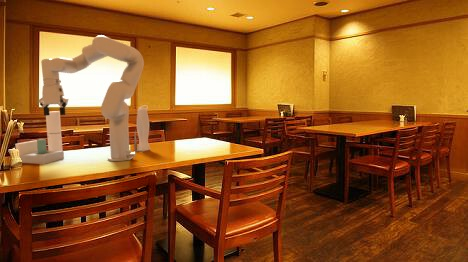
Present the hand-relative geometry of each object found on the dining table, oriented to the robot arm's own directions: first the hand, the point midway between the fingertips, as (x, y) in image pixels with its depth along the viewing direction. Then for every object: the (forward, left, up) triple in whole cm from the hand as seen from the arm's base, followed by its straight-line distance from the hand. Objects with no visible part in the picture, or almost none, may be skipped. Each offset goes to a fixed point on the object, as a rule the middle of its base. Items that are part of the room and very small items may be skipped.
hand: (54, 115), depth 170 cm
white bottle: (-33, -33, -24) cm, 52 cm away
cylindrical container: (+12, -12, -24) cm, 29 cm away
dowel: (+4, +6, -23) cm, 24 cm away
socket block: (+4, +6, -24) cm, 25 cm away
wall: (+12, +6, -24) cm, 27 cm away
